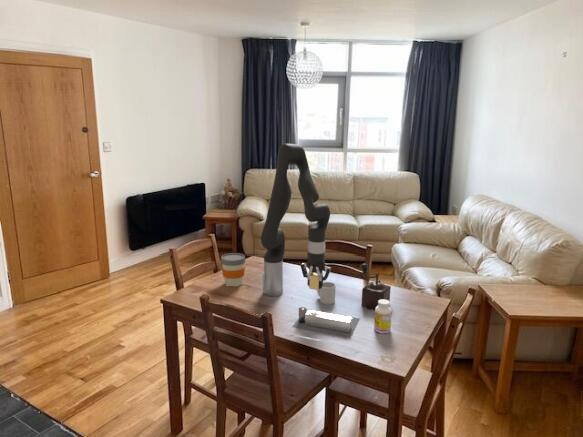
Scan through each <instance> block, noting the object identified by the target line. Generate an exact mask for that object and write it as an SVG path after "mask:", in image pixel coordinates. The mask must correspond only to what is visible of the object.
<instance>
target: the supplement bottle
mask: <svg viewBox="0 0 583 437" xmlns="http://www.w3.org/2000/svg"><path fill="white" fill-rule="evenodd" d="M390 304H391V302H389V301H388V300H385V299H381V300H379V301H378V306H376V308H375V311H374V326H373V327H374V330H375V332H377V333H379V334H388V333H390V332H391V326H392V325H391V324H392V311H393V310H392V307H391V306H390Z"/></svg>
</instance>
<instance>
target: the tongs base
mask: <svg viewBox="0 0 583 437" xmlns="http://www.w3.org/2000/svg"><path fill="white" fill-rule="evenodd" d="M306 309H307V308H306V307H304V306H301V307H298V318H299V323H305V324H306V325H311V326H317V327H322V328H327V329H333V330H338V331H343V332H350V322H351V320H346V319H341V318H335V317H329V316H324V315H318V314H312V313H306Z"/></svg>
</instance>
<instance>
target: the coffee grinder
mask: <svg viewBox="0 0 583 437" xmlns="http://www.w3.org/2000/svg"><path fill="white" fill-rule="evenodd" d="M368 268H369V265H368V264H367V263H362V264H360V269H361V271H362V274H363V277H364V278H367V279H368V278H369V279H375V281H370V282H369V283H367V284H366V285H365V286H364V287H362V290H361V306H362V307H364V308H366V309H367V310H371V311H374V312H375V308H376V306H378V301H379V300H381V299H385V300H388V301H389V302H390V301H391V290H392V289H391V287H392V286H391V285H389V284H388V285H386V284H384V283H382V282H381V280H379V277H380V276H379V272H376V273H375V275H367V274H368V273H369V271H368ZM390 303H391V302H390Z"/></svg>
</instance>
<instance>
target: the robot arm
mask: <svg viewBox="0 0 583 437" xmlns="http://www.w3.org/2000/svg"><path fill="white" fill-rule="evenodd" d="M293 165H294V166H296V168H297V169H298V171H299V174H298V175H299V176H298V182H297V187H298V191H299V194H300V195H301V198H302V201H303V206H304V216H305V218H306V220H308V221H309V222H311V223H316V224H314V225H312V226H311V227H309V229H308V242H307V261H306V262H302V263H301V264H300V265H299V266H300V269H301V273H302V275H303V278H306V279H307V283H306V284H307V286H308V287H309V281H310V275H311V274H312V273H317V274H318V277H319V289H321V288H322V287H323V282H326V280H328V278H329V276H330V273H331V271H332V267H331V266H327V265H326V262H325V261H326V231H327V228H328V225H329V222H330V219H331V210H330V207H329V205H327V204H326V203H320V204H314V203H316V202H317V201H319V199H320V195H319V192H318V190H317V188H316V186H315V183H314V180H313V178H312V175H311V174H312V173H311V170H310V167H309V162H308V158H307V154H306V152H305V149H304V147H303V146H302V145H300V144H296V143H282V144H281V145H280V146H279V148H278V152H277V158H276V168H275V175H274V181H273V187H272V190H271V194H270V198H269V199H270V200H269V206H268V210H267V214H266V219H265V222H264V225H263V228H262V232H261V235H260V243H261V246H263V248H264V249H266V252H265V253H264V255H263V275H262V294H264V295H266V296H268V297H278V296H281V295H282V294H283V293H284V292H283V291H284V288H283V287H284V286H283V285H284V281H283V280H284V278H283V276H284V275H283V274H284V272H283V271H284V270H283V269H284V268H283V267H284V266H283V264H284V261H283V258H284V255H285V245H286V239H285V234H284V231H283V230H282V228H280V224H281V222H282V220H283V218H284V217H285V215H286V214H287V211H288V209H289V206H290V203H291V199H292V193H293V192H292V189H291V185H290V182H289V180H288V168H289V166H293ZM307 269H308V270H307ZM323 270H324V271H325V274H324V272H323Z"/></svg>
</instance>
